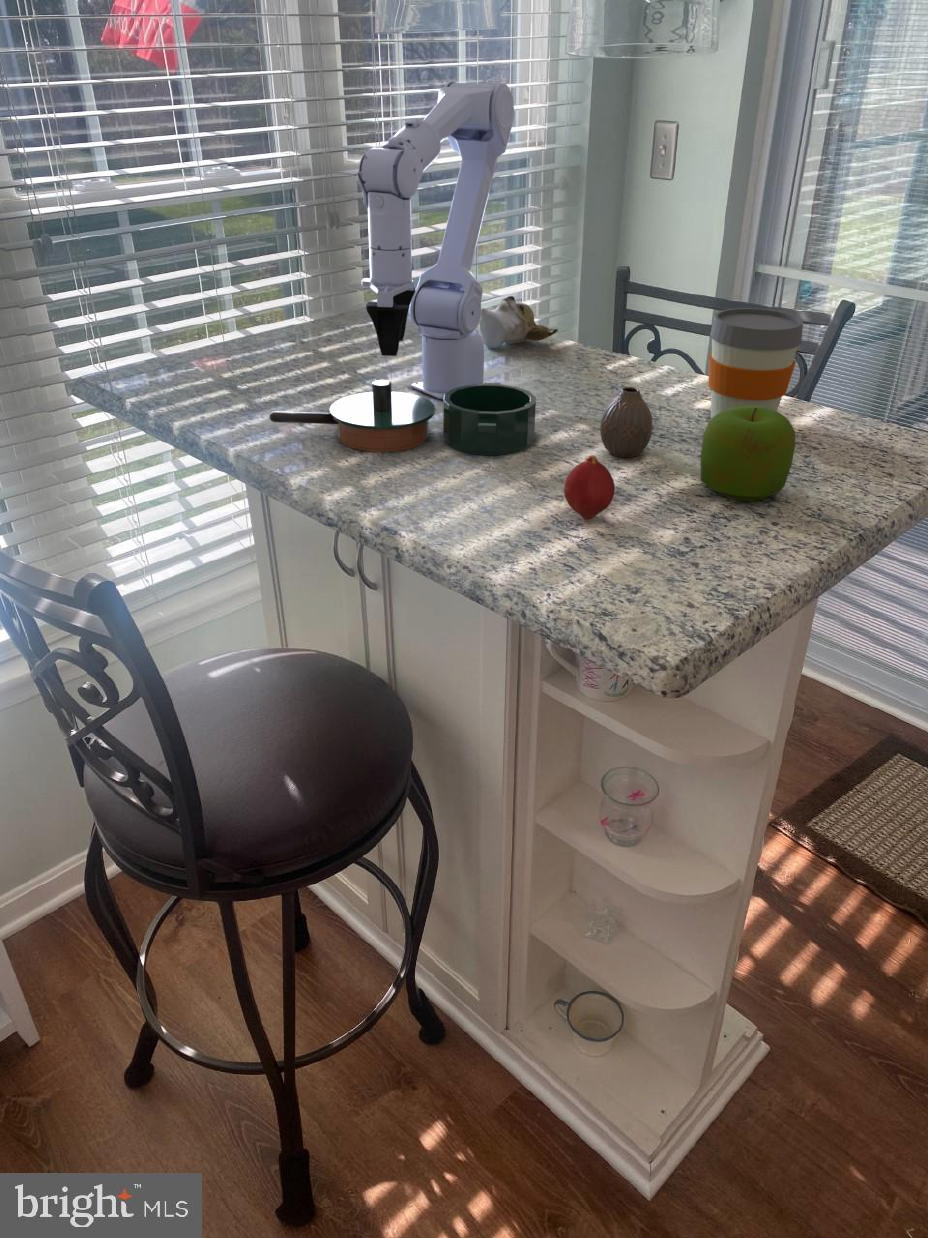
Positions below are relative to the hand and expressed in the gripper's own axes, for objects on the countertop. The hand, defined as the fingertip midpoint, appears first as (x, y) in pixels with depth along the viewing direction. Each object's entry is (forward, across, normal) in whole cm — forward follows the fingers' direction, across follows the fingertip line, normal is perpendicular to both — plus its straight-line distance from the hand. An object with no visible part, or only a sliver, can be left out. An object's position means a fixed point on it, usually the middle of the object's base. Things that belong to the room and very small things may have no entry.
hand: (392, 347), depth 140 cm
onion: (+11, +32, +27) cm, 43 cm away
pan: (+10, +7, -1) cm, 13 cm away
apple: (+11, +23, +46) cm, 53 cm away
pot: (+10, +7, +14) cm, 19 cm away
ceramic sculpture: (+10, -42, +16) cm, 46 cm away
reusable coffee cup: (+10, -3, +51) cm, 52 cm away
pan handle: (+9, +7, -12) cm, 16 cm away
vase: (+11, +11, +33) cm, 36 cm away
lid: (+7, +7, -1) cm, 10 cm away
